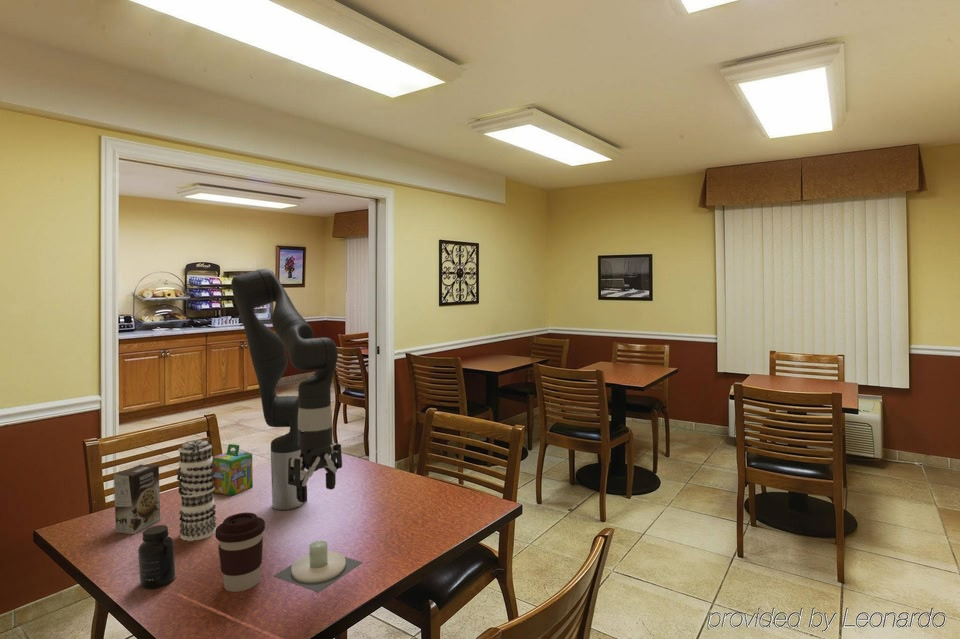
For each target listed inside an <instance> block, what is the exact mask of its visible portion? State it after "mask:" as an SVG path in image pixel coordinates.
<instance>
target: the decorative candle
mask: <svg viewBox="0 0 960 639" xmlns="http://www.w3.org/2000/svg"><path fill="white" fill-rule="evenodd" d="M212 448H213V444H212V443H209V441H208V440H206V439H193V440H189V441H188V440H187V441H186V442H184V443H182V445H181V447H180V448H178V450H177V451H178V452H179V461H178V465H179V466H178V468H177V469H176V474H177V477H176V480H177V481H178V483H177V484H178V485H177V487H178V490H177V493H178V495H179V496H181V497H180V500H181V503H180V510H179V515H180V516H179V517H180V518H179V521H180V523H179V528H180V529H179V530H180V531H179V533H180V539H181V538H182V539H183V540H182V539H181V540H182V541H185V540H187V541H186V542H195V541H194V540H196V541H201V540H204V539H207V538H209V537H212V536H213V535H215V530H216V528H217V527H216V526H217V522H216V521H217V516H215V515H216V513H217V511H216V507H217V506H216V504H215V498H214V492H213V490H214V488H215V484H212V481H214V480H215V477H213V475H214V474H215V471H213V470H212V468H214V467H215V466H216V465H215V464H214V463H213V462H215V459H213V458H212V457H213V455H212V453H213V452H212Z"/></svg>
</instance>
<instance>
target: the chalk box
mask: <svg viewBox="0 0 960 639" xmlns="http://www.w3.org/2000/svg"><path fill="white" fill-rule="evenodd" d="M227 446H228V447H227V450H226V452H224V453H221V454H218V455H215V456H212V458H213V459H215V462H213V463H214V464H215V465H216V466H215V467H214V468H212V470H213V471H215V474H214V475H213V477H215V480H214V481H212V484H215V488H214V490H213V493H216V494H219V495H225V496H229V497H232V496H234V495H237V494H239V493H241V492H243V491H247V490H248V489H250V488H252V487H253V486H254V485H253V480H254V479H253V454H252V452H246V451H241V450H240V445H239V444H234V443H229V444H228V445H227ZM232 449H234V450H232Z"/></svg>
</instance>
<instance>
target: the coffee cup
mask: <svg viewBox="0 0 960 639" xmlns="http://www.w3.org/2000/svg"><path fill="white" fill-rule="evenodd" d="M215 528H216V530H215V533H214V535H215V539H216V540H217V541H218V554H219V563H220V565H219V566H220V570H221V573H222V580H223V581H222V582H223V588H224V590H226V591H228V592H233V593H235V592H243V591H246V590H249V589H252V588H254V587H255V586H257V584H258V583H260V581H261V566H262V563H263V546H264V545H263V544H264V543H263V542H264V538H263V532H264V531H265V529H266V521H265V520H264V518H262V517H259V516H258V515H257V514H256V513H253V512H238V513H235V514H232V515H230V516H228V517H226V518H225V519H224V520H223V521H222V523H220V524H219V525H218V526H217V527H215Z"/></svg>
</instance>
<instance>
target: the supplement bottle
mask: <svg viewBox="0 0 960 639" xmlns="http://www.w3.org/2000/svg"><path fill="white" fill-rule="evenodd" d="M142 531H143V532H142V543H141V544H139V546H138V550H137V554H138V555H137V556H138V568H139V570H138V571H139V584H140V586H141V587H142V588H143V589H145V590H151V589H152V590H153V589H157V588H161V587H165V586H166V585H168V584H170V583H171V582H172V581H173V580H174V579H175V577H176V557H175V543H174V539H173V538H172V537H170V536H169V529H168V526H167V525H166V524H165V525H164V524H157V525H154V526H149V527H147V528H145V529H143V530H142Z"/></svg>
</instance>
